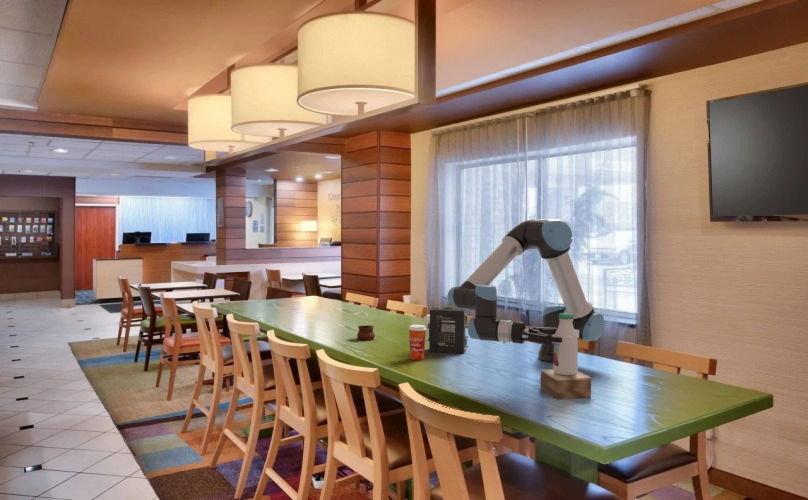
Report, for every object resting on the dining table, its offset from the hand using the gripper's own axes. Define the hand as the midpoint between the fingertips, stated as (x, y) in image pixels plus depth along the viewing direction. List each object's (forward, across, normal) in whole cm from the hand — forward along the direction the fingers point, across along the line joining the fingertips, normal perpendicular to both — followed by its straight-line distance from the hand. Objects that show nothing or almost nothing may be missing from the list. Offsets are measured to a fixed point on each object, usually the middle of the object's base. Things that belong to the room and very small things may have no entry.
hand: (576, 337), depth 186 cm
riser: (-3, 0, -19) cm, 19 cm away
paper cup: (-68, -24, -19) cm, 74 cm away
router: (-62, -45, -19) cm, 79 cm away
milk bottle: (-3, 0, -13) cm, 13 cm away
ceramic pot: (-108, -52, -20) cm, 121 cm away
